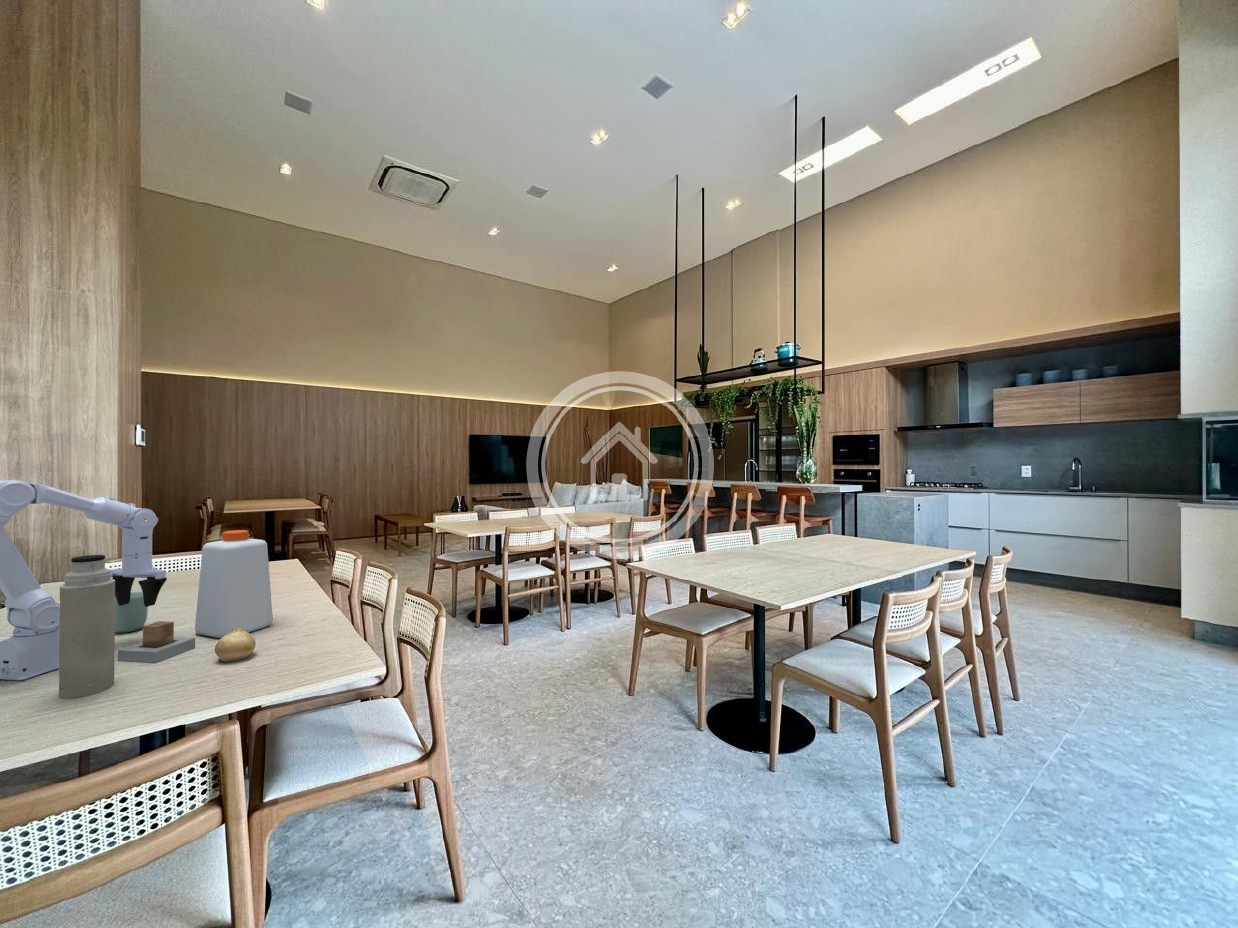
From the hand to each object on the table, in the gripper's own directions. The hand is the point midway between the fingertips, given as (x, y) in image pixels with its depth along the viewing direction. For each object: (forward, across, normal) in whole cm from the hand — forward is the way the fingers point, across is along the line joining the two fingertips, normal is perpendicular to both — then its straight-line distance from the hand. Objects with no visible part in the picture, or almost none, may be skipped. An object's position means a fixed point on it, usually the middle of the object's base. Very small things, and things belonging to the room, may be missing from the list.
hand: (136, 605), depth 132 cm
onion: (+10, -34, +6) cm, 36 cm away
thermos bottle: (+10, -18, +25) cm, 32 cm away
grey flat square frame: (+10, -13, +6) cm, 17 cm away
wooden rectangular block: (+10, -13, +6) cm, 17 cm away
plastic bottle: (+10, -16, -13) cm, 23 cm away
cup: (+10, +12, -8) cm, 18 cm away
